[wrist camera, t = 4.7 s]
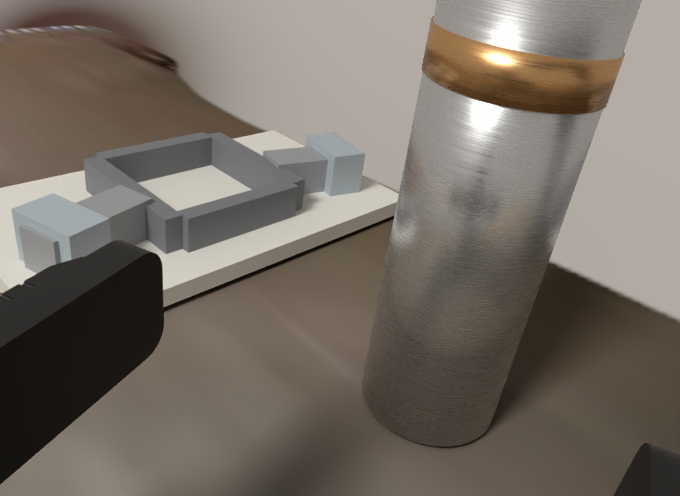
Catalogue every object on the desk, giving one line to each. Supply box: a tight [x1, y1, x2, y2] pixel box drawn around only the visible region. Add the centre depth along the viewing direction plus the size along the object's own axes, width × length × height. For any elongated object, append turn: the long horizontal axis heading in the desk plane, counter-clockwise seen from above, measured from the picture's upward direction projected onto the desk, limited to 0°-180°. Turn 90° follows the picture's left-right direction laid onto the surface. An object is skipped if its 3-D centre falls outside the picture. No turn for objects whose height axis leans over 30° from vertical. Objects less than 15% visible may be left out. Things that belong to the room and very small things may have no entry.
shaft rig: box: [0, 131, 399, 307], centre depth 29 cm, size 19×11×3 cm, turn 136°
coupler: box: [362, 0, 642, 447], centre depth 18 cm, size 5×5×14 cm
